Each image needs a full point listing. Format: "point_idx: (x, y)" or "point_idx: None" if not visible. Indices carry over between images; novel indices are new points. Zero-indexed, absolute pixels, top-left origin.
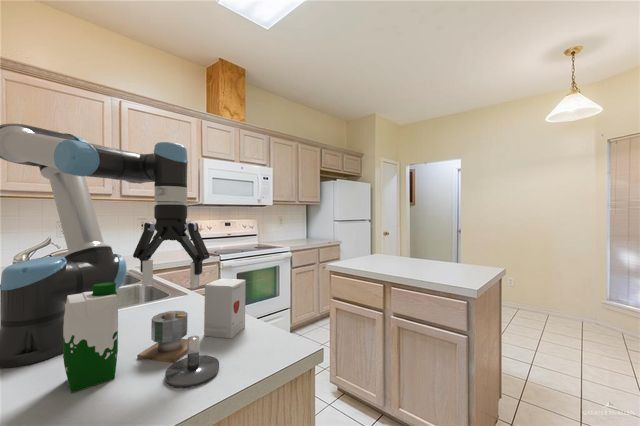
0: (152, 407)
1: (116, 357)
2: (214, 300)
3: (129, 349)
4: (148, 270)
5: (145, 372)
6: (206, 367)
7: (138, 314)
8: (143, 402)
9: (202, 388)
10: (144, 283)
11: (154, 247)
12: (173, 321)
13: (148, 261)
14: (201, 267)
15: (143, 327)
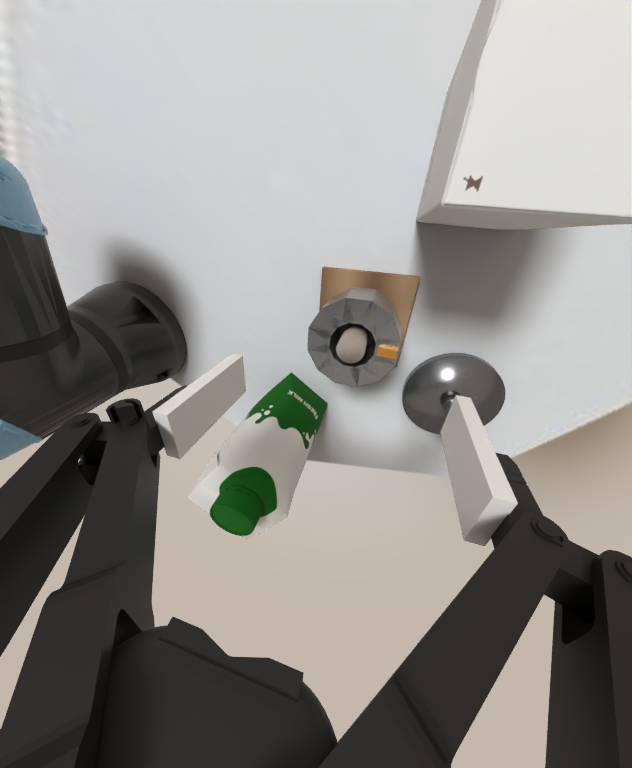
0: (419, 457)
1: (316, 413)
2: (488, 221)
3: (276, 315)
4: (209, 409)
5: (362, 389)
6: (478, 399)
7: (95, 54)
8: (402, 449)
9: None
10: (238, 396)
11: (146, 522)
12: (381, 378)
13: (179, 438)
14: (525, 493)
15: (208, 184)
